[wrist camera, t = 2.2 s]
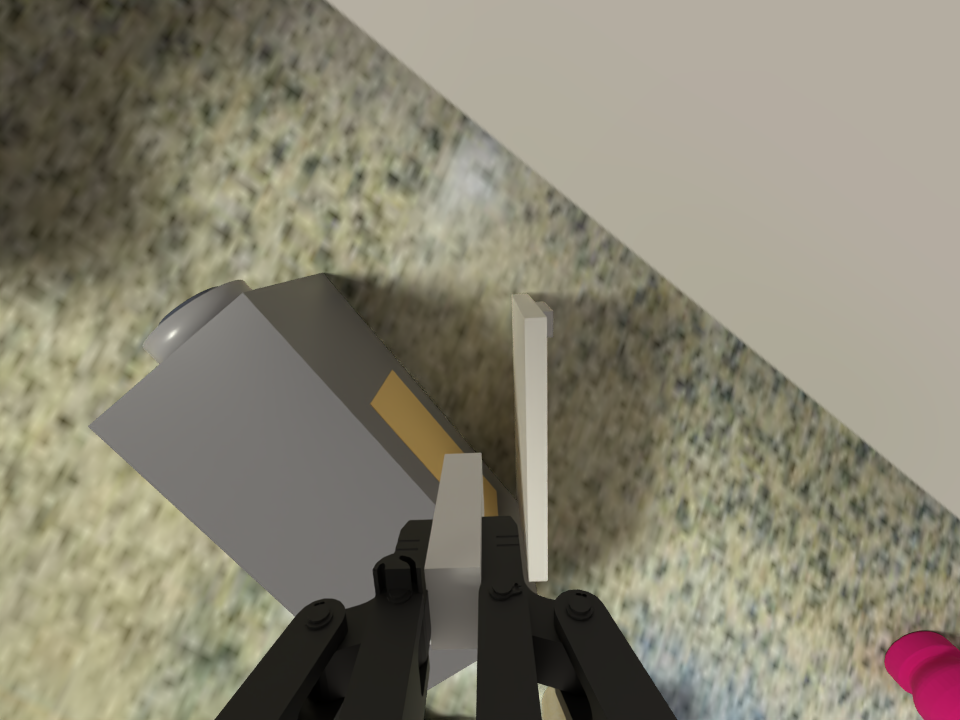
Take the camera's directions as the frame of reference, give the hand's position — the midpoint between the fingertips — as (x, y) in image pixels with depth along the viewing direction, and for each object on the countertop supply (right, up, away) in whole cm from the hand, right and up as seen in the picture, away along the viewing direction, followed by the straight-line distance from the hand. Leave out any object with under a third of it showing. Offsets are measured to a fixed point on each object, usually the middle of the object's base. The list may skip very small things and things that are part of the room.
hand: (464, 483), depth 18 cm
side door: (+4, +2, +17) cm, 18 cm away
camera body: (-9, -1, +19) cm, 21 cm away
